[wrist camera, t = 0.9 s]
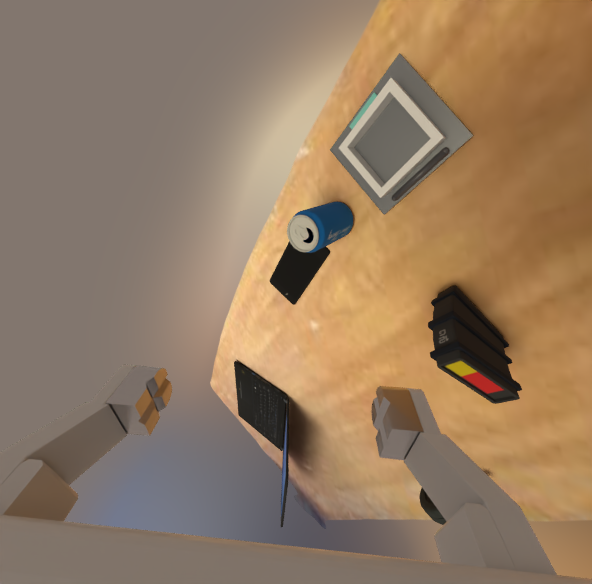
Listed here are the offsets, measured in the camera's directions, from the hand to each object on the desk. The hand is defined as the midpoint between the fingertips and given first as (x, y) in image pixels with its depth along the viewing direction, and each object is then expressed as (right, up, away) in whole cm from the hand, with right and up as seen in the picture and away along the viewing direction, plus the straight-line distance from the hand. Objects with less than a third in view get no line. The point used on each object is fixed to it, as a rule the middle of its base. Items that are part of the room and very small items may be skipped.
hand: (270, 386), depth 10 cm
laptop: (-6, -41, +81) cm, 91 cm away
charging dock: (+15, +25, +27) cm, 40 cm away
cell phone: (+2, +9, +48) cm, 49 cm away
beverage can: (+9, +17, +37) cm, 42 cm away
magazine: (+29, -1, +30) cm, 42 cm away
